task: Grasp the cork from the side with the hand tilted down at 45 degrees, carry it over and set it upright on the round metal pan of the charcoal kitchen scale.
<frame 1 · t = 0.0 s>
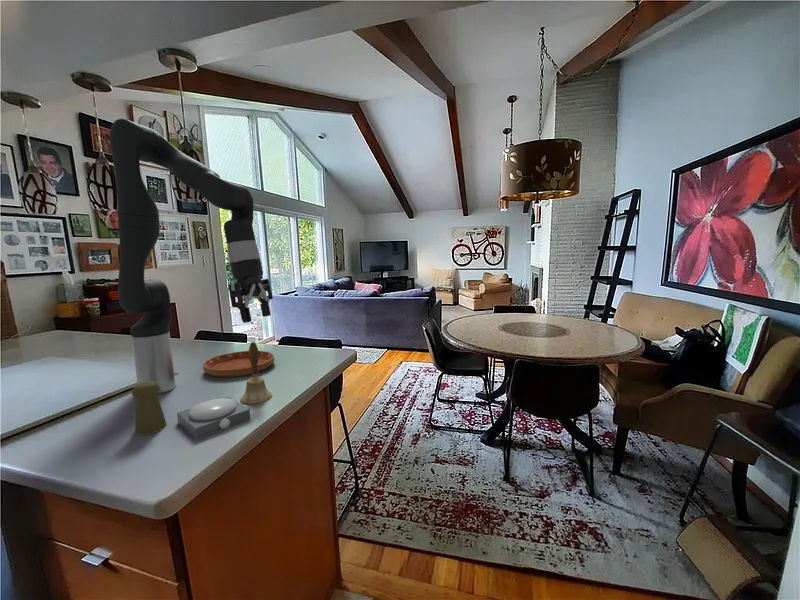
hand: (257, 319, 94), 22 cm above the table, tool pointing down, fingers open, 8 cm apart
cork: (151, 429, 81), on the table
saucer: (240, 369, 123), on the table
scale: (214, 420, 84), on the table
hand bell: (256, 398, 97), on the table
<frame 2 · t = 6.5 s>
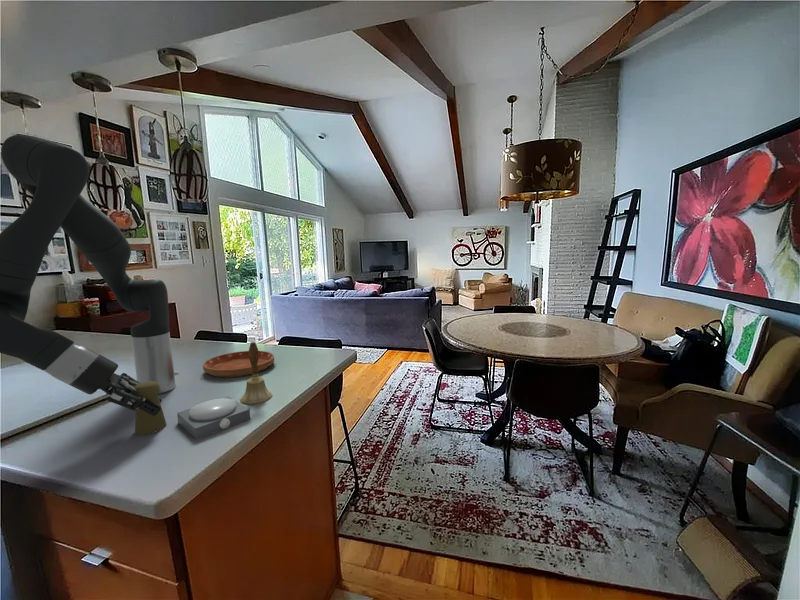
hand: (158, 407, 81), 5 cm above the table, tool tilted 45°, fingers closed on cork, 4 cm apart
cork: (151, 429, 81), on the table, touching gripper
everything else where it was.
when the fingers open (9 cm above the table, at t = 11.1 s): cork moves 2 cm, resting on scale.
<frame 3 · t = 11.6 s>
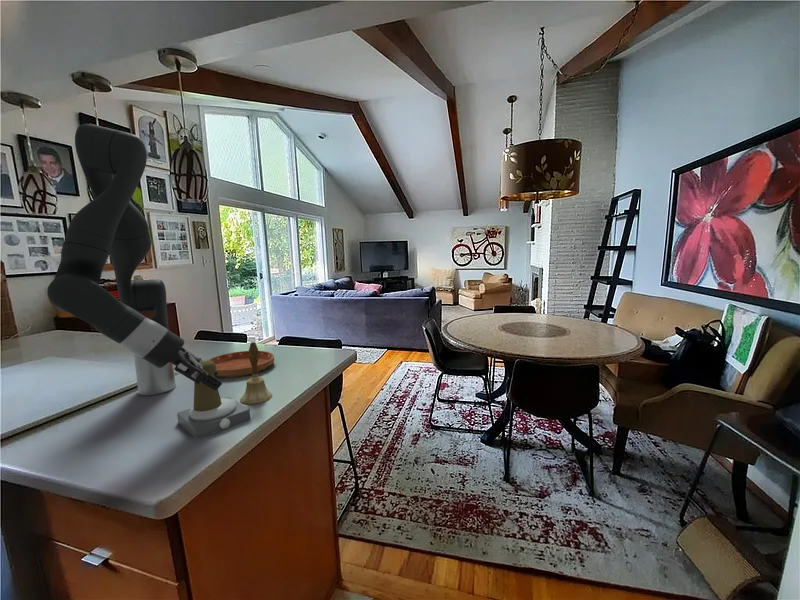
hand: (217, 381, 83), 10 cm above the table, tool tilted 45°, fingers open, 8 cm apart
cork: (207, 406, 84), point 3 cm above the table, touching gripper, scale
everything else where it was.
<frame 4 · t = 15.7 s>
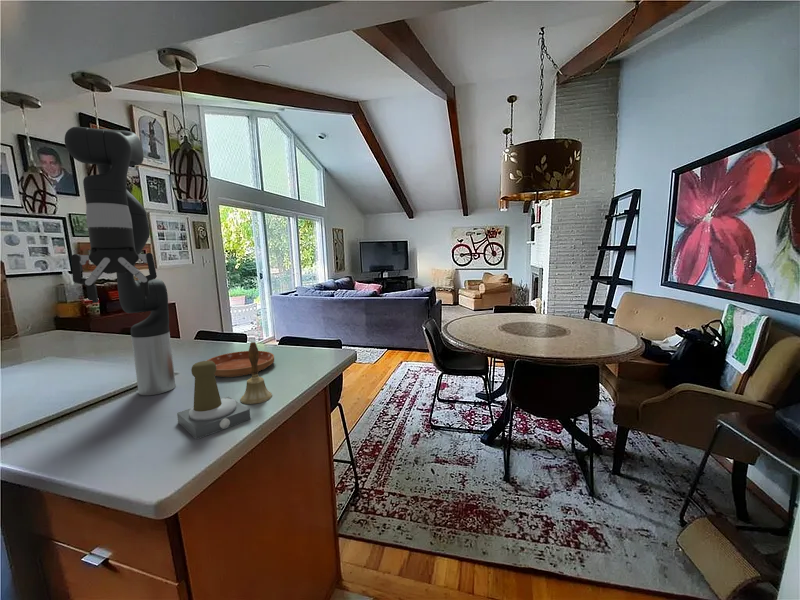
hand: (120, 300, 77), 30 cm above the table, tool pointing down, fingers open, 8 cm apart
cork: (207, 406, 84), point 3 cm above the table, touching scale
everything else where it was.
at the end: cork 1.8 cm from the scale (horizontally); cork point 3.3 cm above the table; cork tilted 0° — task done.
